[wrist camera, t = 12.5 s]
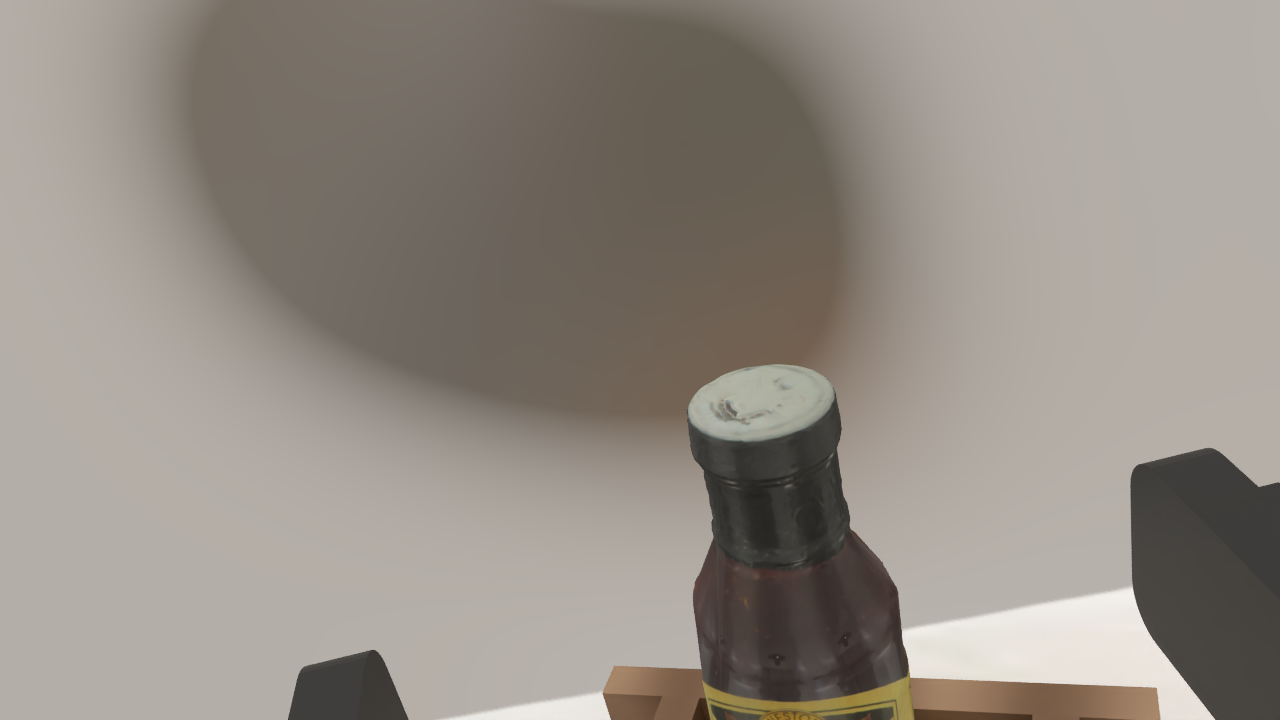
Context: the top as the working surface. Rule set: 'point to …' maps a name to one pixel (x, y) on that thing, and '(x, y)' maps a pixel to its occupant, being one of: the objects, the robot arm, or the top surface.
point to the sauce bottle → (788, 561)
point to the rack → (943, 709)
